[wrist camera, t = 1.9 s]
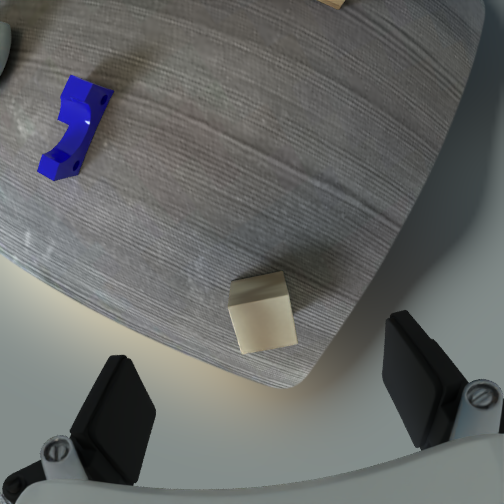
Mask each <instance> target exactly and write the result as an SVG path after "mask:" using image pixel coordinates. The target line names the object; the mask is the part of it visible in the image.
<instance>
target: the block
mask: <svg viewBox="0 0 504 504" xmlns="http://www.w3.org/2000/svg"><path fill="white" fill-rule="evenodd" d="M228 310H229V313H230V317H231V320H232V324H233V327H234V330H235V334H236V337H237V340H238V344H239V347H240V350H241V353H242V354H247V353H252V352H258V351H264V350H269V349H274V348H279V347H284V346H289V345H294V344H298V340H297V335H296V329H295V324H294V319H293V313H292V308H291V303H290V297H289V293H288V289H287V285H286V281H285V277H284V273H283V271H279V272H274V273H270V274H265V275H260V276H255V277H250V278H245V279H240V280H235V281H231V285H230V293H229V300H228Z"/></svg>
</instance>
